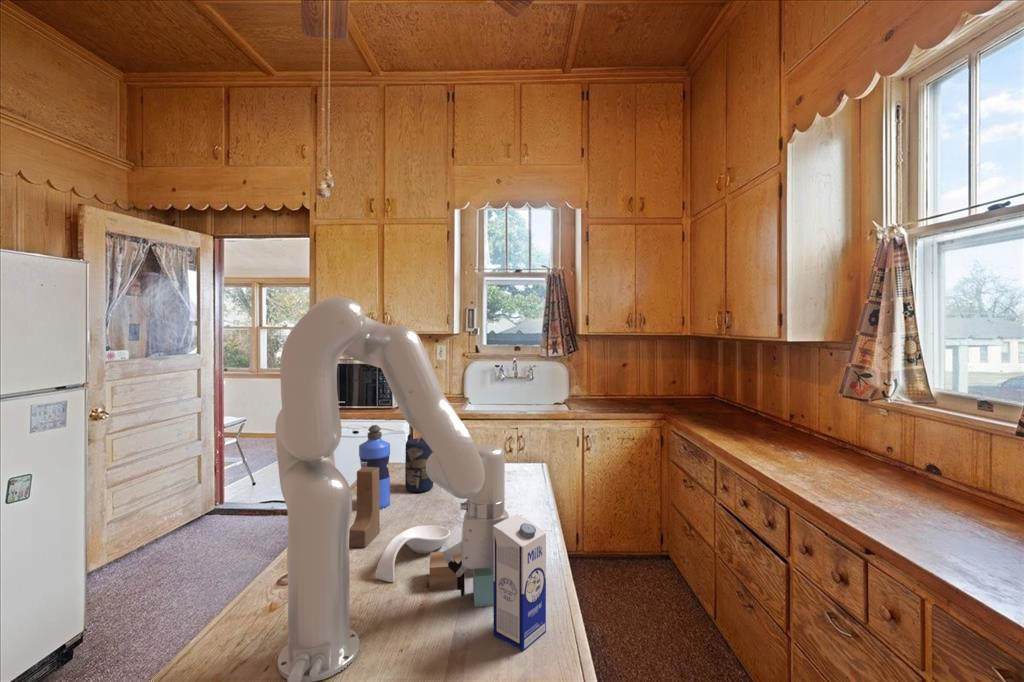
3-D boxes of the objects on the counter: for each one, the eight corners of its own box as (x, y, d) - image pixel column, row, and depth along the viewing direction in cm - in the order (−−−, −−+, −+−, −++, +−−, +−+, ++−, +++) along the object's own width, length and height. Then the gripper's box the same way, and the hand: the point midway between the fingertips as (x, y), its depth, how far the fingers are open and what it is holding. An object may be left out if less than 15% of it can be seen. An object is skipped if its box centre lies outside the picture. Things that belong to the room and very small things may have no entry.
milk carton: (517, 617, 89) (517, 512, 88) (546, 631, 84) (546, 521, 84) (492, 635, 83) (492, 524, 83) (522, 652, 79) (522, 534, 79)
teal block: (499, 604, 93) (499, 574, 93) (474, 606, 92) (474, 576, 92) (497, 590, 98) (497, 562, 98) (473, 592, 97) (473, 564, 97)
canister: (400, 492, 158) (399, 439, 157) (413, 483, 167) (413, 433, 166) (425, 495, 155) (425, 441, 155) (438, 486, 164) (438, 435, 164)
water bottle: (383, 497, 153) (383, 421, 152) (395, 506, 145) (394, 426, 145) (355, 504, 147) (354, 425, 147) (365, 513, 140) (365, 430, 139)
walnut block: (463, 588, 99) (463, 565, 99) (429, 591, 98) (429, 567, 98) (462, 572, 106) (461, 550, 106) (430, 574, 105) (430, 552, 105)
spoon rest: (418, 534, 125) (418, 508, 125) (458, 541, 122) (457, 513, 121) (362, 578, 103) (362, 546, 103) (408, 588, 99) (408, 554, 99)
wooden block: (365, 548, 117) (364, 477, 116) (348, 547, 117) (347, 476, 117) (380, 533, 126) (379, 466, 125) (364, 532, 126) (363, 466, 126)
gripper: (442, 516, 90) (443, 605, 90) (531, 511, 92) (531, 597, 92) (443, 502, 97) (443, 584, 97) (525, 498, 100) (525, 578, 100)
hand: (486, 590), depth 95 cm, fingers open, 9 cm apart
